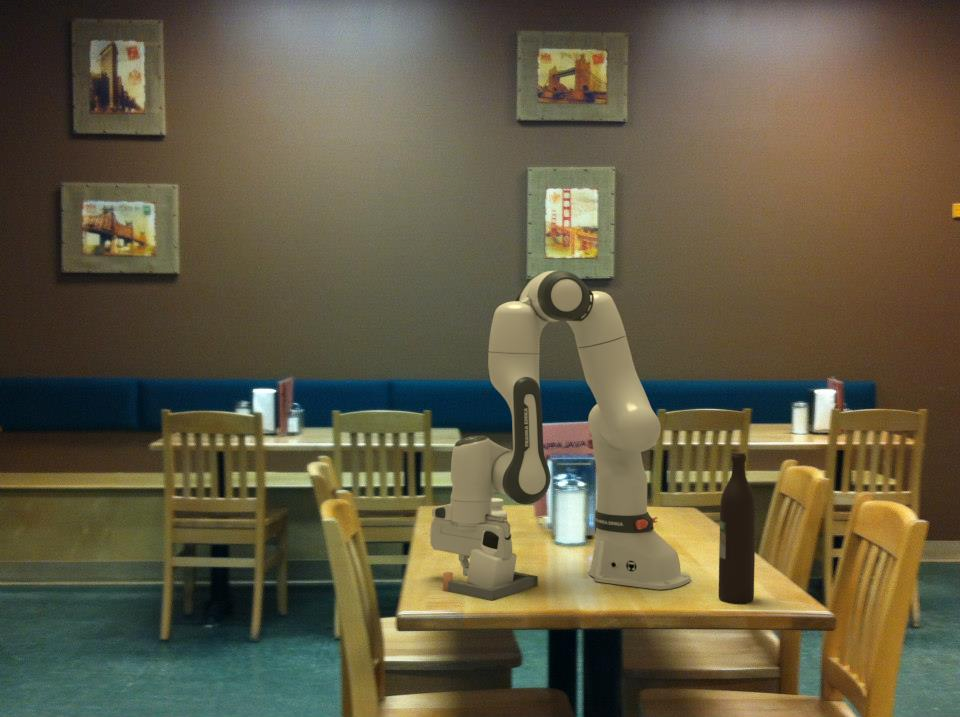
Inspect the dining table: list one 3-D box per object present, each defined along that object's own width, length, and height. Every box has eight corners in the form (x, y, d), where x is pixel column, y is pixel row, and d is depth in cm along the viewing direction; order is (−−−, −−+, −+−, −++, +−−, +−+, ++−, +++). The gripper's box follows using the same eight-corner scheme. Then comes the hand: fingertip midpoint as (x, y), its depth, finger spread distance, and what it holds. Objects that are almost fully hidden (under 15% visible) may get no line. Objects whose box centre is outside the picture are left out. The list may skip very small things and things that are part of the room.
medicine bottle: (512, 586, 230) (521, 532, 228) (492, 592, 225) (500, 537, 223) (486, 575, 234) (495, 522, 233) (465, 581, 229) (474, 527, 227)
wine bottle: (733, 593, 226) (736, 450, 225) (761, 600, 220) (764, 454, 219) (711, 598, 222) (713, 452, 221) (738, 605, 216) (741, 456, 215)
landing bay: (538, 585, 231) (538, 569, 231) (491, 600, 218) (491, 583, 218) (489, 575, 239) (489, 559, 239) (441, 590, 226) (441, 573, 226)
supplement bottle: (495, 556, 259) (496, 502, 259) (473, 552, 263) (474, 499, 263) (512, 551, 264) (512, 499, 264) (490, 547, 268) (490, 496, 268)
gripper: (518, 515, 228) (518, 581, 228) (444, 504, 240) (444, 566, 241) (500, 520, 223) (499, 586, 223) (425, 508, 236) (425, 571, 236)
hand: (470, 576), depth 232 cm, fingers closed
